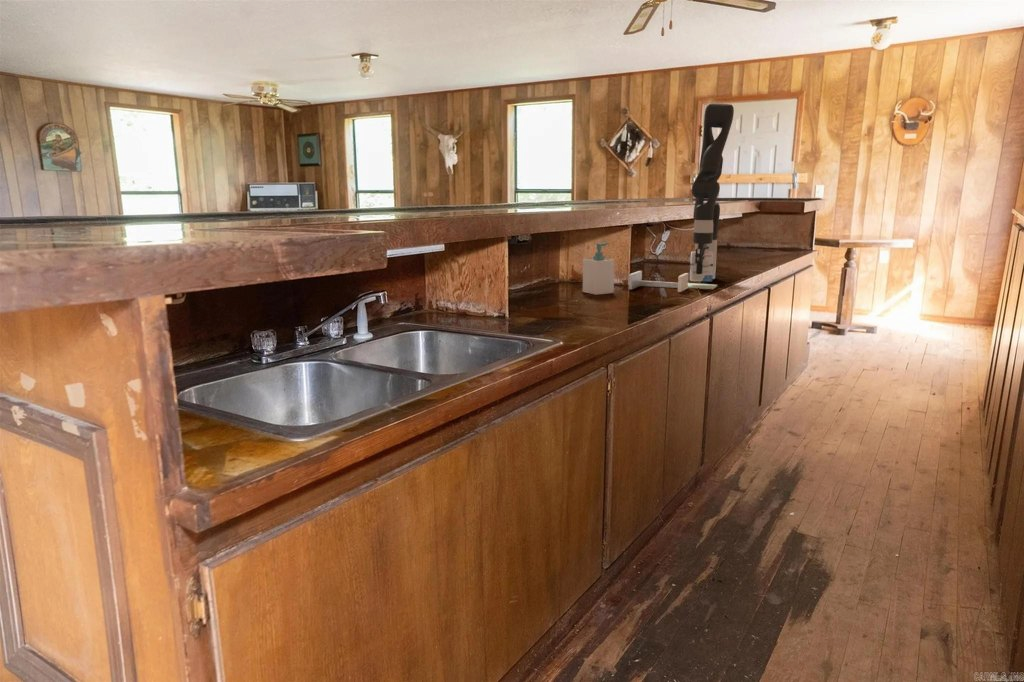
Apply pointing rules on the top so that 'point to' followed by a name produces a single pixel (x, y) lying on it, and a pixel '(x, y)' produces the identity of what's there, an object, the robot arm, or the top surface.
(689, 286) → the mat
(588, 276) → the soap bottle
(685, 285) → the tie jaw
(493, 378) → the top surface
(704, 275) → the ink box
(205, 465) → the top surface
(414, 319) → the top surface
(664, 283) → the clamp base
